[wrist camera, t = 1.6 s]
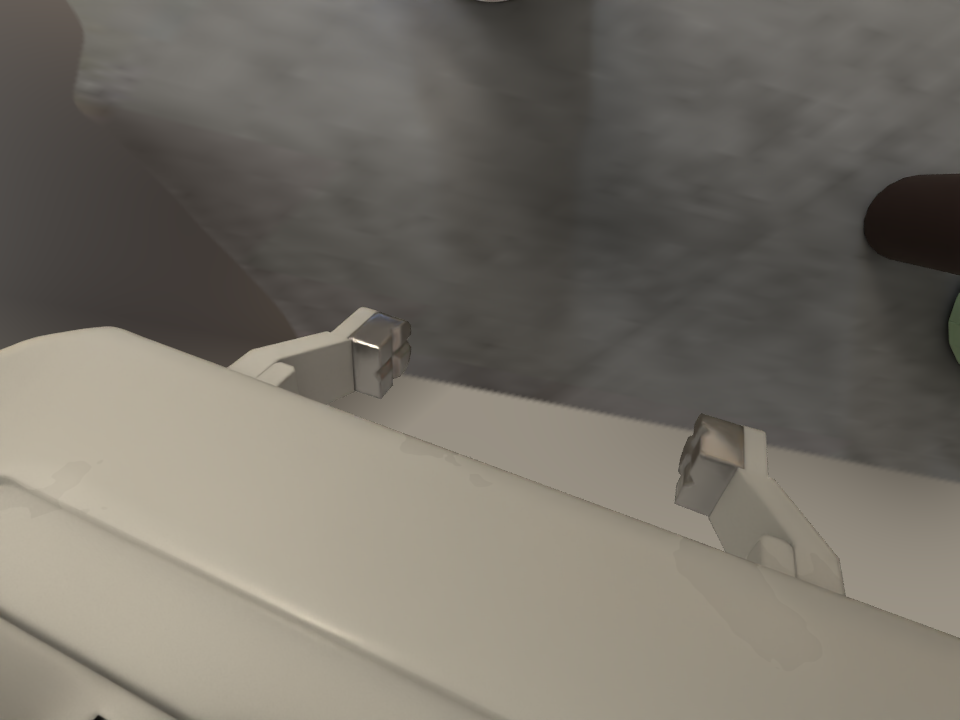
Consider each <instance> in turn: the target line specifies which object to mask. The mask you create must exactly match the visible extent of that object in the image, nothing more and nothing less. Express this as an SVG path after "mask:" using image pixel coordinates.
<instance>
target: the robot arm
mask: <svg viewBox="0 0 960 720" xmlns="http://www.w3.org/2000/svg"><path fill="white" fill-rule="evenodd" d="M477 1H484V2H501V1H507V0H477ZM410 335H411V324H410V323H409V322H408V321H405V320H402V319H399V318H396V317H393V316H390V315H387V314H385V313H382V312H378V311H375V310H372V309H369V308H366V307H361V308H359V309H358V310H357V311H356V312H354V313H353V314H352V315H351V316H350V317H349V318H347V319H346V320H345V321H344V322H343V323H342V324H340V325H339V326H338V327H337V328H336V329H335V330H334V331H332V332H331V333H330V332H327V331H326V332H322V333H318V334H314V335H310V336H306V337H302V338H298V339H294V340H290V341H286V342H282V343H277V344H273V345H270V346H266V347H261V348H257V349H253V350H251V351H249V352H248V353H246V354H245V355H244V356H242V357H241V358H240V359H239V360H237V361H236V362H235V363H233V364H232V365H231V366H229V367H228V368H225V367H222V366H220V365H217V364H215V363H212V362H209V361H206V360H204V359H201V358H198V357H196V356H193V355H190V354H187V353H184V352H182V351H179V350H177V349H174V348H171V347H168V346H166V345H163V344H160V343H158V342H155V341H152V340H150V339H147V338H144V337H141V336H139V335H136V334H134V333H132V332H129V331H126V330H124V329H120V328H116V327H97V328H87V329H80V330H74V331H68V332H62V333H56V334H50V335H44V336H39V337H35V338H32V339H29V340H25V341H22V342H20V343H17V344H14V345H12V346H9V347H7V348H4V349H2V350H0V720H960V638H958V637H955V636H953V635H950V634H947V633H945V632H942V631H939V630H936V629H933V628H931V627H928V626H925V625H923V624H920V623H917V622H914V621H912V620H909V619H906V618H904V617H901V616H898V615H895V614H892V613H890V612H887V611H884V610H882V609H879V608H876V607H874V606H871V605H868V604H865V603H863V602H860V601H857V600H854V599H852V598H849V597H846V595H845V589H844V583H843V578H842V572H841V566H840V560H839V558H838V556H837V555H836V554H835V553H834V552H833V550H832V549H831V548H830V547H829V546H828V544H827V543H826V542H825V541H824V540H823V538H822V537H821V536H820V534H819V533H818V532H817V531H816V530H815V528H814V527H813V526H812V525H811V523H810V522H809V521H808V520H807V519H806V517H805V516H804V515H803V514H802V512H801V511H800V510H799V509H798V507H797V506H796V505H795V504H794V502H793V501H792V500H791V499H790V498H789V496H788V495H787V494H786V493H785V492H784V490H783V489H782V488H781V487H780V485H779V484H778V483H777V482H776V480H774V479H772V478H769V473H768V459H767V444H766V434H765V432H764V431H761V430H758V429H754V428H751V427H747V426H744V425H742V426H741V425H738V424H735V423H731V422H728V421H725V420H722V419H718V418H715V417H712V416H709V415H705V414H702V413H701V414H700V415H699V417H698V418H697V420H696V423H695V425H694V433H693V435H692V436H690V437H688V439H687V442H686V444H685V446H684V449H683V452H682V455H681V458H680V463H679V469H678V472H679V473H680V475H681V476H680V478H679V480H678V483H677V486H676V496H675V504H677V505H680V506H682V507H685V508H687V509H690V510H693V511H696V512H698V513H701V514H703V515H706V516H708V517H709V520H710V522H711V524H712V526H713V528H714V530H715V532H716V534H717V536H718V538H719V540H720V542H721V544H722V546H723V548H724V550H725V552H724V551H722V550H719V549H716V548H713V547H711V546H708V545H705V544H703V543H700V542H697V541H695V540H692V539H689V538H686V537H683V536H681V535H678V534H676V533H673V532H670V531H667V530H664V529H662V528H659V527H657V526H654V525H651V524H649V523H646V522H643V521H640V520H638V519H635V518H632V517H630V516H627V515H624V514H621V513H619V512H616V511H613V510H611V509H608V508H605V507H602V506H600V505H597V504H594V503H591V502H589V501H586V500H583V499H581V498H578V497H575V496H572V495H570V494H567V493H564V492H562V491H559V490H556V489H554V488H551V487H548V486H545V485H542V484H540V483H537V482H535V481H532V480H529V479H526V478H523V477H521V476H518V475H515V474H513V473H510V472H507V471H505V470H502V469H499V468H497V467H494V466H491V465H488V464H486V463H483V462H480V461H478V460H475V459H472V458H469V457H467V456H464V455H461V454H458V453H456V452H453V451H450V450H448V449H445V448H442V447H440V446H437V445H434V444H431V443H429V442H426V441H423V440H421V439H418V438H415V437H412V436H410V435H407V434H404V433H401V432H399V431H396V430H393V429H391V428H388V427H385V426H383V425H380V424H377V423H375V422H372V421H369V420H366V419H364V418H361V417H358V416H356V415H353V414H350V413H347V412H345V411H342V410H339V409H336V408H334V407H331V406H328V405H327V404H329V403H331V402H333V401H336V400H338V399H340V398H342V397H345V396H347V395H349V394H351V393H354V392H355V391H357V392H361V393H364V394H367V395H370V396H373V397H376V398H379V399H381V398H382V397H383V396H384V395H385V394H386V392H387V391H388V390H389V389H390V388H391V387H392V385H393V379H394V378H397V377H400V376H401V375H402V374H403V372H404V371H405V370H406V367H407V365H408V363H409V360H410V355H411V346H410V345H409V343H408V341H407V339H408V337H409V336H410Z"/></svg>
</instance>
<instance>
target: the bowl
mask: <svg viewBox="0 0 960 720" xmlns="http://www.w3.org/2000/svg"><path fill="white" fill-rule="evenodd" d="M948 325H949V344H950V346H951V348H952V351H953V353H954V355H955V357H956V359H957V361H958V363H959V364H960V293H959V295H958V296H957V298H956V301H955V304H954V307H953V310H952V312H951V315H950V318H949V321H948Z"/></svg>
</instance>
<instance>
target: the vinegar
mask: <svg viewBox="0 0 960 720" xmlns="http://www.w3.org/2000/svg"><path fill="white" fill-rule="evenodd" d="M864 233H865V236H866V238H867V241H868V243H869V245H870V246H871V247H872V248H873V249H874V250H875V251H876V252H877V253H878V254H880V255H882V256H884V257H886V258H888V259H891V260H896V261H900V262H904V263H909V264H913V265H917V266H922V267H926V268H930V269H935V270H939V271H943V272H948V273H952V274H956V275H960V174H936V175H917V176H912V177H906V178H903V179H901V180H899V181H897V182H895V183H893V184H891V185H889V186H887V187H886V188H885V189H884V190H883V191H882V192H880V193H879V194H878V195H877V196H876V198H875V199H874V200H873V202H872V203H871V205H870V206H869V208H868V211H867V214H866V217H865V220H864Z"/></svg>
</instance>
